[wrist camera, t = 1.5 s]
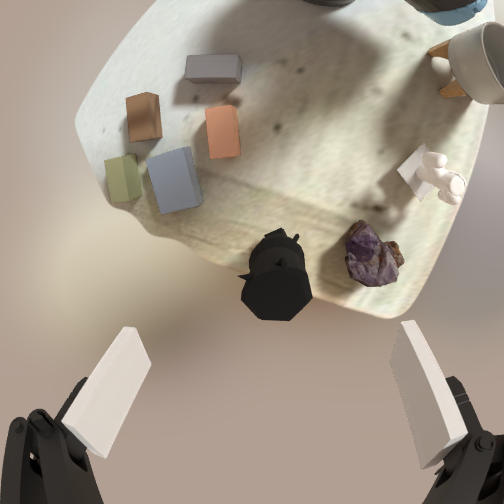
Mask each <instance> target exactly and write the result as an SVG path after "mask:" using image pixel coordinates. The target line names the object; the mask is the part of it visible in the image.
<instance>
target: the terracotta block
mask: <svg viewBox="0 0 504 504" xmlns="http://www.w3.org/2000/svg"><path fill="white" fill-rule="evenodd" d="M205 115H206V125H207V135H208V144H209V153H210V159H216V158H225V157H235V156H238V155H240V154H241V151H240V141H239V131H238V121H237V110H236V108H235V107H233V106H232V105H228V106H220V107H213V108H207V109H205Z"/></svg>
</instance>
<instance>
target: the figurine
mask: <svg viewBox="0 0 504 504" xmlns="http://www.w3.org/2000/svg"><path fill="white" fill-rule="evenodd" d="M446 163H447V157H446V156H445V155H443V154H440V153H434V152H430V151H429V149H428V148H427V146H426V145H425V144H424V143H423V144H422V145H421V146H420V147H419V148H418V149H417V150H416V151H415V152H414V153H413V154H412V155H411V156H410V157H409V158H408V159H407V160H406V161H405V162H404V163H403V164H402V165H401V166H400V167H399V168H398V169H397V171H398V172H399V173H400V175H401V176H402V177H403V178H404V180H405V181H406V182H407V184H408V185H409V187H410V188H411V189H412V191H413V192H414V193H415V195H416V196H417V198H418V199H419V201H420V202H421V200H422V199H423V198H424V197H425V196H426V195H427V194H428V193H429V192H430V191H431V190H432V189H433V188H434V187H435V186H436V187H437V188H439V189H440V191H439V192H438V198H439V199H440V200H442V201H444V202H446V203H448V204H451V205H456V204H458V203H459V201H460V195H462V193H463V192H464V189H465V186H466V181H465V178H464V177H463V176H462V175H459V174H457V173H456V172H454V171H452V170H451V171H447V170H446V169H445V168H444V166H445V165H446Z"/></svg>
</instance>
